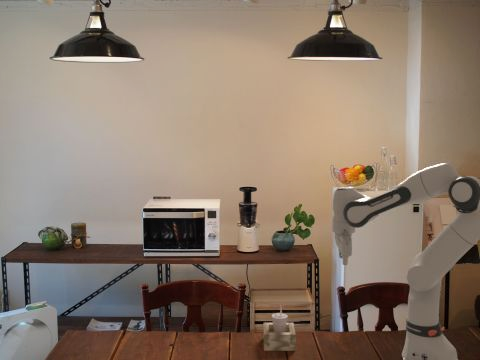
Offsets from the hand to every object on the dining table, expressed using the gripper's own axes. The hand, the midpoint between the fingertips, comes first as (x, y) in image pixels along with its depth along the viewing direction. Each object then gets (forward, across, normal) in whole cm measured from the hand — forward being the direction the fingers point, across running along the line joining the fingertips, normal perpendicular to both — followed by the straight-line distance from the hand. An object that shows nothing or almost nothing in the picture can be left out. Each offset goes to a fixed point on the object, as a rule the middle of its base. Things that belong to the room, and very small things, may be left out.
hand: (343, 261), depth 249 cm
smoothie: (+30, -7, +26) cm, 40 cm away
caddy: (+31, -8, +26) cm, 41 cm away
